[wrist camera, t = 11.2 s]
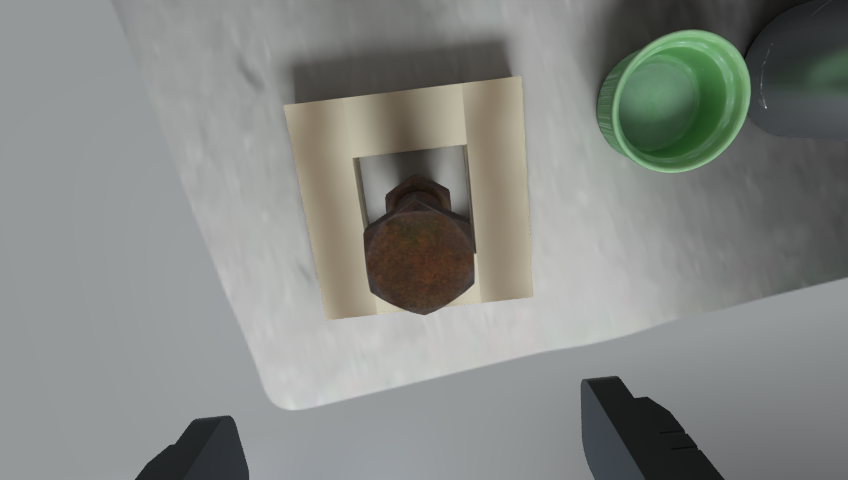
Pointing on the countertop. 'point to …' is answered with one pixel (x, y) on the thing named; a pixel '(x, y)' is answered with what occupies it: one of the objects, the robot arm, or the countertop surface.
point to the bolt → (419, 249)
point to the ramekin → (675, 101)
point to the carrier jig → (408, 131)
